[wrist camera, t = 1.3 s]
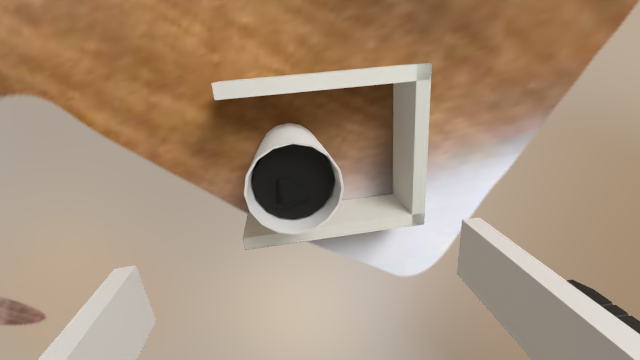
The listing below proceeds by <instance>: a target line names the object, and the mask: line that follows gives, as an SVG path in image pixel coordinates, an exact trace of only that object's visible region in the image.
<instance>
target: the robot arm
mask: <svg viewBox="0 0 640 360" xmlns="http://www.w3.org/2000/svg"><path fill="white" fill-rule="evenodd" d="M458 259H459V260H458V269H457V274H458V275H459V277H460V278H461V279H462V280H463V281H464V282H465V284H466V285H467V286H468V287H469V288H470V289H471V290H472V292H473V293H474V294H475V295H476V296H477V297H478V298H479V300H480V301H481V302H482V303H483V304H484V305H485V306H486V308H487V309H488V310H489V311H490V312H491V313H492V314H493V315H494V317H495V318H496V319H497V320H498V321H499V322H500V323H501V325H502V326H503V327H504V328H505V329H506V330H507V331H508V333H509V334H510V335H511V336H512V337H513V338H514V339H515V340H516V342H517V343H518V344H519V345H520V346H521V347H522V349H523V350H524V351H525V352H526V353H527V354H528V355H529V357H530V358H531V359H532V360H640V321H638V320H637V319H635V318H634V317H633V316H629V315H628V313H627V312H625V311H624V310H622V309H621V308H619V307H618V306H617V305H613V304H612V302H611V301H609V300H608V299H606V298H605V297H604V296H602V295H601V294H599V293H598V292H596V291H595V290H593V289H591V288H589V287H587V286H585V285H582V284H580V283H578V282H576V281H574V280H567V281H566V280H564V279H563V278H562V277H560V276H559V275H558V274H556V273H555V272H554V271H552V270H551V269H549V268H548V267H546V266H545V265H544V264H543V263H541V262H540V261H538V260H537V259H535V258H534V257H533V256H532V255H530V254H529V253H527V252H526V251H525V250H523V249H522V248H521V247H519V246H518V245H516V244H515V243H514V242H512V241H511V240H510V239H508V238H507V237H505V236H504V235H503V234H501V233H500V232H499V231H497V230H496V229H494V228H493V227H492V226H490V225H489V224H488V223H486V222H484V221H483V220H482V219H481V218H472V219H465V220H462V227H461V238H460V248H459V258H458ZM155 322H156V320H155V317H154V314H153V311H152V308H151V306H150V303H149V300H148V297H147V295H146V292H145V289H144V286H143V284H142V281H141V278H140V275H139V272H138V270H137V267H136V266H130V267H123V268H116V269H114V270H113V271H112V273H111V274H110V275H109V276H108V277H107V279H106V280H105V281H104V282H103V283H102V284H101V286H100V287H99V288H98V289H97V290H96V292H95V293H94V294H93V295H92V296H91V298H90V299H89V300H88V301H87V302H86V303H85V305H84V306H83V307H82V308H81V310H80V311H79V312H78V313H77V314H76V315H75V317H74V318H73V319H72V320H71V321H70V323H69V324H68V325H67V326H66V327H65V328H64V329H63V331H62V332H61V333H60V334H59V335H58V337H57V338H56V339H55V340H54V342H52V344H51V345H50V346H49V347H48V348H47V350H46V351H45V352H44V353H43V354H42V355H41V357H40V358H39V359H38V360H137V358H138V356H139V354H140V352H141V350H142V348H143V346H144V344H145V342H146V340H147V338H148V336H149V334H150V332H151V330H152V328H153V326H154V324H155Z"/></svg>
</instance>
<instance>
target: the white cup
mask: <svg viewBox="0 0 640 360" xmlns="http://www.w3.org/2000/svg"><path fill="white" fill-rule="evenodd" d="M343 190H344V185H343V180H342V175H341V170H340V169H339V167H338V166H337V165H336V163H335V162H334V160H333V159H332V158H331V156H330V155H329V154H328V152H327V151H326V150H325V149H324V147H323V146H322V145H321V144H320V143H319V141H318V140H317V139H316V138H315V137H314V135H313V134H312V133H311V132H310V131H309V130H308V129H306V128H304V127H303V126H301V125H299V124H293V123H285V124H281V125H277V126H275V127H274V128H272V129H271V130H270V131H268V132H267V133H266V135H265V137H264V138H263V140H262V142H261V144H260V146H259V148H258V150H257V152H256V155H255V157H254V159H253V161H252V163H251V165H250V168H249V170H248V172H247V174H246V179H245V188H244V196H245V199H246V202H247V205H248V208H249V211H250V212H251V213H252V215H253V216H254V217H255V218H256V219H257V220H258V221H259V222H260V223H261V224H262V225H263V226H265V227H267V228H269V229H271V230H273V231H276V232H278V233H285V234H295V235H297V234H301V233H305V232H309V231H313V230H316V229H317V228H319V227H320V226H322V225H323V224H325V223H326V222H328V221H329V220H330V219H331V218H332V216H333V215H334V213H335V212H336V210H337V209H338V208H339V206H340V204H341V199H342V195H343Z"/></svg>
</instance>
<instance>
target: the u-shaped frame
mask: <svg viewBox="0 0 640 360" xmlns="http://www.w3.org/2000/svg"><path fill="white" fill-rule="evenodd" d="M431 70H432V63H428V64H407V65H395V66H384V67H373V68H362V69H351V70H340V71H329V72H317V73H306V74H295V75H284V76H273V77H262V78H251V79H240V80H228V81H220V82H215V83H211V84H212V89H213V94H214V99H215V100H223V99H233V98H243V97H254V96H264V95H275V94H285V93H296V92H306V91H317V90H327V89H338V88H348V87H359V86H369V85H380V84H390V83H393V194H387V195H380V196H372V197H365V198H357V199H350V200H342V201H341V204H340V206H339V208H338V209H337V210H336V212H335V213H334V215H333V216H332V218H331V219H330V220H329V221H328V222H326V223H325V224H323V225H322V226H320V227H319V228H317V229H316V230H313V231H309V232H305V233H301V234H297V235H295V234H285V233H278V232H276V231H273V230H271V229H269V228H267V227H265V226H263V225H262V224H261V223H260V222H259V221H258V220H257V219H256V218H255V217H254V216H253V215H252V213H248V216H247V221H246V226H245V231H244V236H243V242H244V246H245V250H247V249H255V248H262V247H269V246H276V245H282V244H290V243H297V242H304V241H311V240H318V239H325V238H332V237H339V236H346V235H353V234H360V233H367V232H374V231H380V230H387V229H394V228H401V227H408V226H415V225H422V224H424V214H425V193H426V172H427V152H428V131H429V111H430V90H431Z"/></svg>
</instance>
